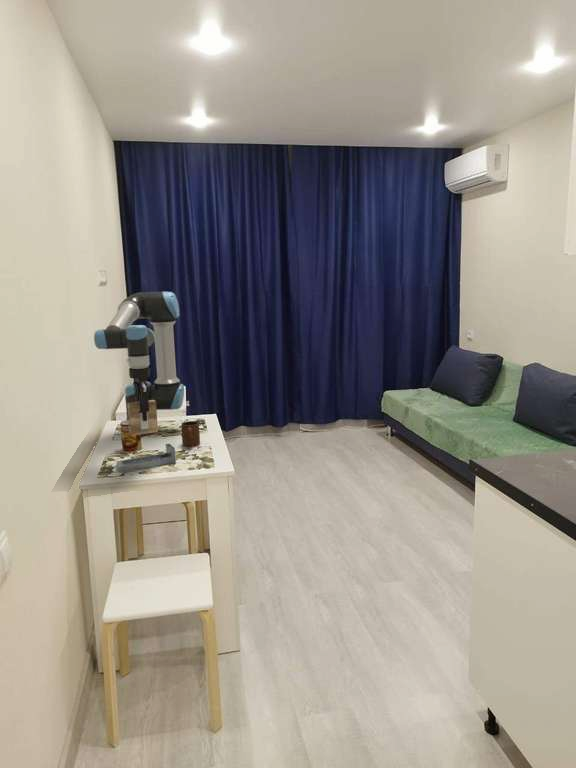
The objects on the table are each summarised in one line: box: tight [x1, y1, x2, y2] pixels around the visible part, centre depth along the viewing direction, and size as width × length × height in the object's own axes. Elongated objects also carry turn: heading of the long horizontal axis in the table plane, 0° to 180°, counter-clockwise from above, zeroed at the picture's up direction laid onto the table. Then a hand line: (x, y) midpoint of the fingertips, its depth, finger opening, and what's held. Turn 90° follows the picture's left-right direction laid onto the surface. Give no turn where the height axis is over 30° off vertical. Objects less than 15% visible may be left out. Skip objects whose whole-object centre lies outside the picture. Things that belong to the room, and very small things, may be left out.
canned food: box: [119, 419, 142, 453], centre depth 239 cm, size 8×8×12 cm
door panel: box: [128, 400, 159, 436], centre depth 215 cm, size 3×10×12 cm, turn 118°
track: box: [115, 443, 177, 473], centre depth 219 cm, size 7×21×6 cm, turn 118°
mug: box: [180, 420, 201, 447], centre depth 242 cm, size 12×8×9 cm, turn 7°
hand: (143, 427), depth 216 cm, fingers closed on door panel, 3 cm apart
